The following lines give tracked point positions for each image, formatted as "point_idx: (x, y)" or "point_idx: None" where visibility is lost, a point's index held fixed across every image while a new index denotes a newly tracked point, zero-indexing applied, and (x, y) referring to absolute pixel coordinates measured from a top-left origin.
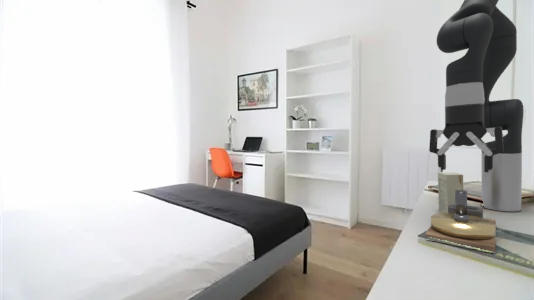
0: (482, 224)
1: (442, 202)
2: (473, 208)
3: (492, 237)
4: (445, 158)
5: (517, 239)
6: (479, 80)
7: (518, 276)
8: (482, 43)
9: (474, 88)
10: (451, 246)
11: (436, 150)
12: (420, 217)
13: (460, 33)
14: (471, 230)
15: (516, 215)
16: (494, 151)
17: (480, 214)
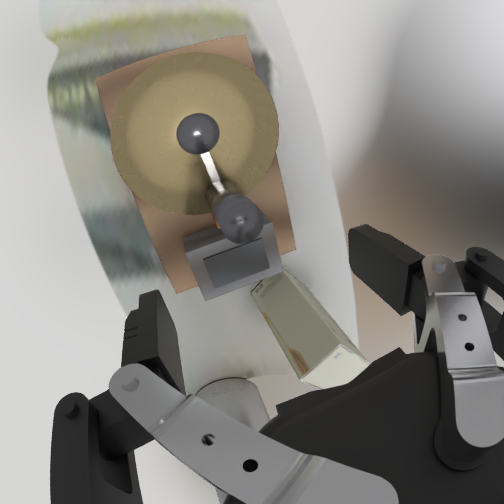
0: (140, 142)
1: (310, 295)
2: (213, 260)
3: None
4: (387, 295)
5: (105, 225)
6: None
7: (52, 24)
8: None
9: None
10: (181, 47)
11: (463, 274)
12: (323, 204)
13: None
14: (144, 70)
15: (185, 378)
16: (108, 410)
17: (188, 247)
